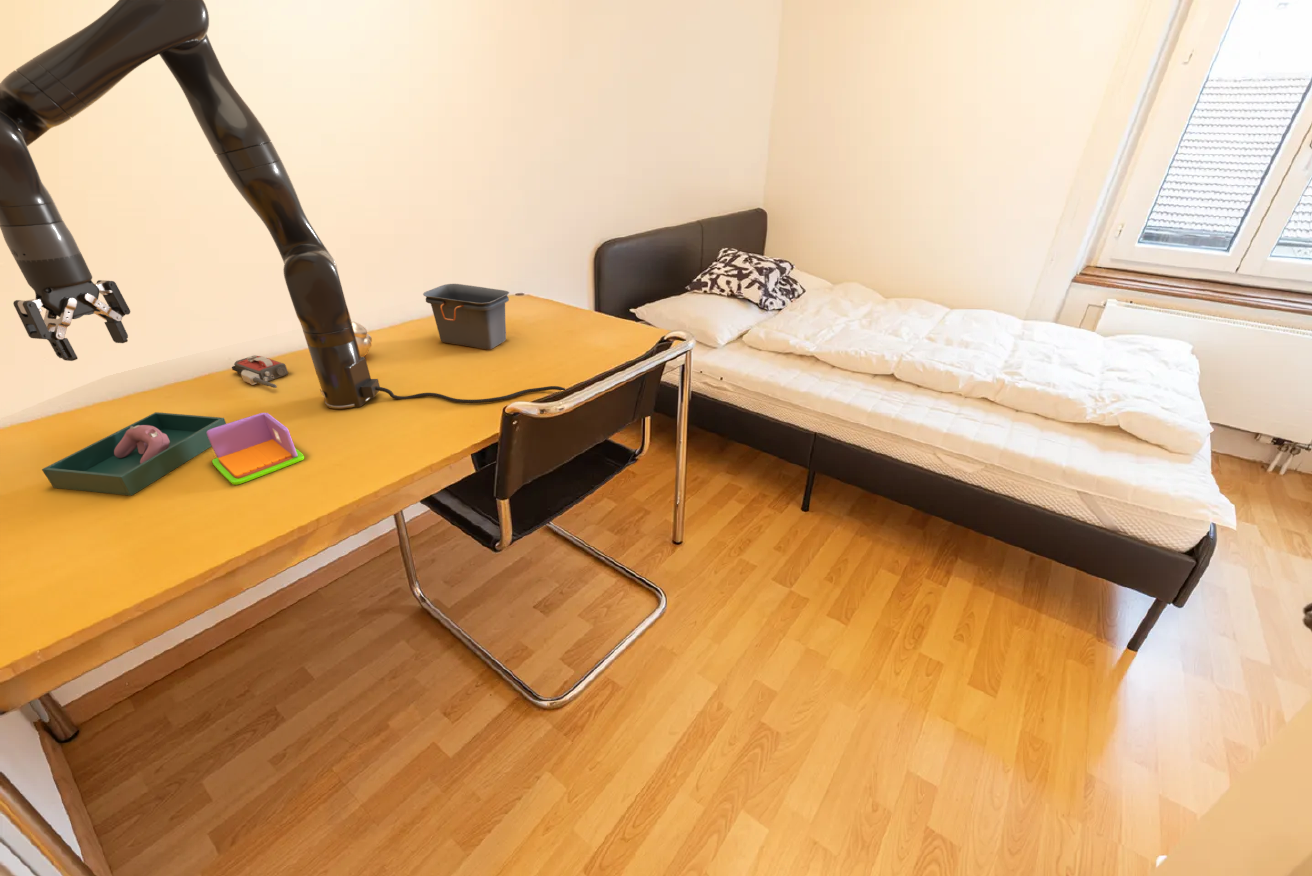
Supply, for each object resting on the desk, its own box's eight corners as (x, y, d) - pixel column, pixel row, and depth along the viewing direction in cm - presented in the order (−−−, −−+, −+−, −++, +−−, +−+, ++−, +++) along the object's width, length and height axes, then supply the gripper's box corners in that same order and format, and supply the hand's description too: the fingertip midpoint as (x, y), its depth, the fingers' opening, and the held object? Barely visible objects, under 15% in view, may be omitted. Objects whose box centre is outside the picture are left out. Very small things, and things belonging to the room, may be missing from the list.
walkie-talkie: (224, 376, 137) (272, 393, 128) (217, 359, 135) (266, 376, 126) (261, 364, 143) (309, 380, 135) (255, 347, 141) (303, 363, 133)
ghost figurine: (358, 367, 142) (347, 329, 137) (328, 362, 145) (317, 325, 140) (383, 355, 150) (374, 319, 145) (355, 350, 152) (345, 314, 147)
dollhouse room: (281, 438, 111) (269, 407, 108) (307, 459, 105) (295, 427, 101) (210, 462, 103) (195, 430, 100) (233, 487, 97) (219, 453, 93)
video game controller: (172, 468, 103) (176, 431, 103) (141, 470, 99) (146, 431, 99) (141, 456, 107) (145, 420, 106) (111, 457, 103) (115, 420, 102)
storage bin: (519, 339, 162) (514, 289, 154) (489, 358, 149) (481, 305, 142) (457, 330, 167) (449, 282, 160) (423, 347, 155) (412, 296, 148)
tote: (231, 434, 112) (223, 417, 110) (131, 495, 94) (121, 477, 92) (163, 428, 114) (155, 412, 112) (53, 487, 96) (41, 469, 94)
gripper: (15, 264, 81) (72, 368, 89) (112, 245, 93) (154, 338, 101) (-28, 261, 82) (32, 364, 90) (74, 243, 94) (119, 335, 102)
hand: (97, 350), depth 96 cm, fingers open, 8 cm apart
